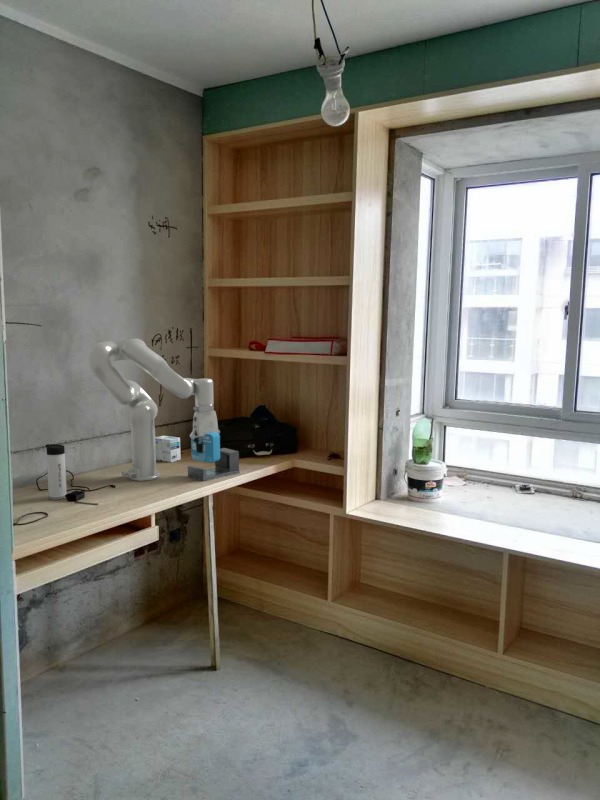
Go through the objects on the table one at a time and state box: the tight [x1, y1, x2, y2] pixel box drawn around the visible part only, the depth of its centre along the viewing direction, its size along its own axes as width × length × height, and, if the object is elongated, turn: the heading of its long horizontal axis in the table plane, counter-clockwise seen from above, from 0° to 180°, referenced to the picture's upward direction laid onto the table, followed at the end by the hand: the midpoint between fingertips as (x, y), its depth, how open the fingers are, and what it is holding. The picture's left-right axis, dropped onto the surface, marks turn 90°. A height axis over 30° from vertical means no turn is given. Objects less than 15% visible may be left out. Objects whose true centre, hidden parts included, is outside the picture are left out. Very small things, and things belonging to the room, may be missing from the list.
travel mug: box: [44, 443, 68, 501], centre depth 232 cm, size 6×7×20 cm
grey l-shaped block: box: [187, 447, 241, 482], centre depth 268 cm, size 19×11×10 cm, turn 135°
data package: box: [190, 432, 221, 464], centre depth 263 cm, size 12×4×12 cm, turn 58°
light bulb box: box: [155, 435, 182, 463], centre depth 295 cm, size 11×7×11 cm, turn 58°
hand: (205, 451), depth 264 cm, fingers closed on data package, 5 cm apart
